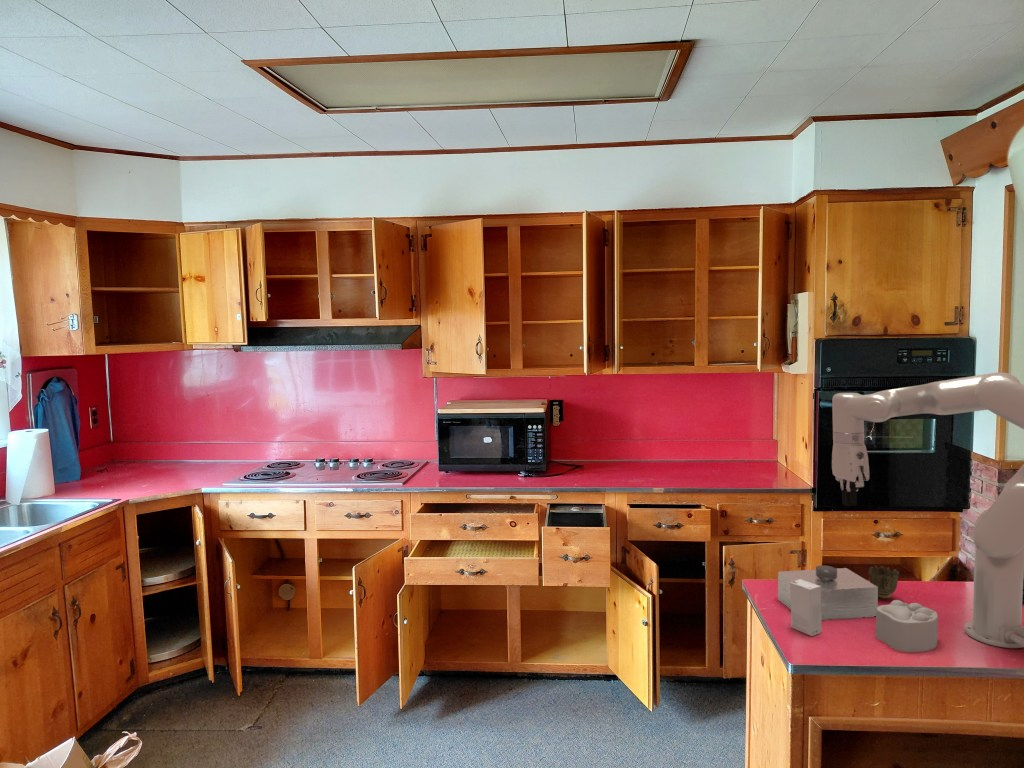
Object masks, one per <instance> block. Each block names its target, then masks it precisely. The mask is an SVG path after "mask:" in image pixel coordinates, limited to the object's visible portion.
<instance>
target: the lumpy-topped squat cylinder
mask: <svg viewBox="0 0 1024 768" xmlns="http://www.w3.org/2000/svg"><path fill="white" fill-rule="evenodd" d="M938 625H939V616H938V613H937V612H936V611H935V610H933V609H931V608H928V606H923V605H921V604H920V603H918V602H912V603H906V602H903V601H901V600H900V599H894V600H892V601H891V602H890V603H889V604H884V605H883V604H882V605H878V607H877V610H876V617H875V638H876V639H877V640H879V641H880V640H881V641H880V642H883V643H885V644H886V645H887V644H888V645H887V646H888V647H890V648H891V649H893V648H894V650H895V649H896V650H895V651H899V652H902V651H904V652H903V653H922V652H928V651H933V650H934V649H935V648H937V646H938V635H939V633H938V630H939V626H938Z"/></svg>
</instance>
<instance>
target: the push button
mask: <svg viewBox="0 0 1024 768" xmlns="http://www.w3.org/2000/svg"><path fill="white" fill-rule="evenodd" d="M815 570H816V576H817V577H819V578H822V580H823V581H824V582H825V581H830V580H833V579H836V578H837V568H836V567H833V566H830V565H817V566H815Z"/></svg>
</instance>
